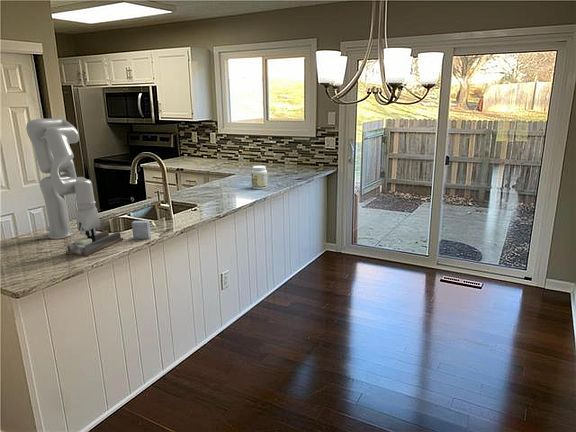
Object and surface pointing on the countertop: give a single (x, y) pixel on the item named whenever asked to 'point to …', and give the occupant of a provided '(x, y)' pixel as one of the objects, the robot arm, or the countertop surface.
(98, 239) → the chute
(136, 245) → the countertop surface
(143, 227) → the medicine box
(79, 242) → the block
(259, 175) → the supplement tub
